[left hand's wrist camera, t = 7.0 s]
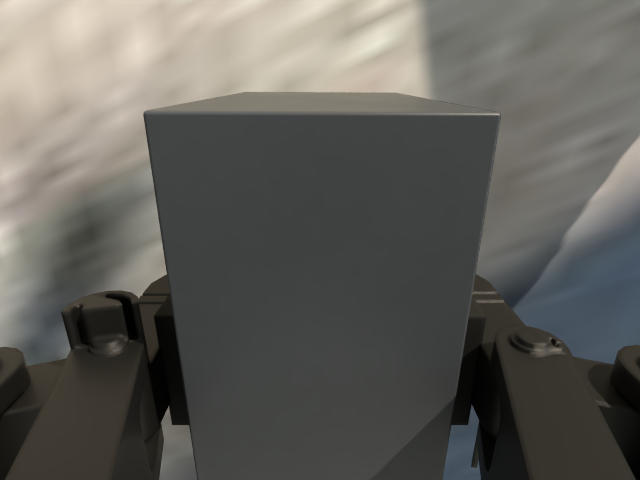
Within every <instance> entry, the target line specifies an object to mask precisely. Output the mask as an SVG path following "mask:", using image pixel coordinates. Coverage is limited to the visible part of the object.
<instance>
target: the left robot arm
mask: <svg viewBox="0 0 640 480" xmlns="http://www.w3.org/2000/svg"><path fill="white" fill-rule="evenodd" d="M61 313H62V317H63V321H64V325H65V328H66V332H67V336H68V340H69V343H70V347H71V351H70V353H69V355H68V357H67V358H66V359H62V360H58V361H53V362H48V363H42V364H37V365H32V366H27V364H26V361H25V358H24V355H23V353H22V352H21V351H19V350H18V349H17V348H9V347H0V480H159V475H160V467H161V459H162V451H163V443H164V438H163V431H162V426H161V421H162V419H163V417H164V415H165V412H166V410H167V408H168V406H169V408H170V414H171V420H172V425H189V419H188V412H187V406H186V399H185V392H184V385H183V379H182V372H181V365H180V358H179V352H178V345H177V338H176V331H175V325H174V318H173V311H172V304H171V297H170V291H169V284H168V277H167V275H165V276H163V277H161V278H160V279H158V280H156V281H155V282H153V283H151V284H150V286H149V287H148V288H147V289H146V290H145V292H144V293H143V296H140V298H139V299H138V297H137V296H136V295H134V294H133V293H131V292H126V291H105V292H100V293H95V294H91V295H88V296H86V297H83V298H80V299H78V300H76V301H74V302H73V303H71V304H69V305H68V306H67V307H66V308H65V309H64V310H63V311H62V312H61ZM471 404H472V406H473V408H474V410H475V412H476V414H477V416H478V418H479V426H478V431H477V436H476V442H475V447H474V453H473V458H472V465H471V467H474V468H477V464H478V459H479V466H480V474H481V480H640V345H633V346H625V347H623V348H622V349H620V350H619V351H618V353H617V356H616V359H615V362H614V365H613V364H608V363H602V362H597V361H592V360H587V359H581V358H577V357H573V356H572V354H571V352H570V350H569V349H568V347H567V346H566V345H565V344H564V343H563V341H561V340H560V339H558V338H557V337H555V336H554V335H552V334H550V333H548V332H545V331H543V330H540V329H538V328H533V327H529V326H525V324H524V323H523V322H522V321H521V320H520V318H519V317H518V316H517V315H516V314H515V312H514V311H513V310H512V309H511V308H510V306H509V305H508V304H507V303H505V300H504V299H503V298H502V297H501V296H500V294H498V292H497V291H496V290H495V288H494V287H493V286H492V285H491V284H490V282H488V281H486V280H485V279H483V278H481V277H480V276H478V275H476V274H475V280H474V286H473V292H472V298H471V305H470V311H469V317H468V323H467V330H466V336H465V342H464V348H463V354H462V361H461V367H460V373H459V379H458V386H457V392H456V398H455V404H454V410H453V417H452V423H451V425H468V421H469V416H470V410H471Z"/></svg>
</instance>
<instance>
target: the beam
mask: <svg viewBox="0 0 640 480" xmlns="http://www.w3.org/2000/svg"><path fill="white" fill-rule="evenodd" d="M500 118H501V115H500V113H498V112H494V111H488V110H483V109H478V108H472V107H467V106H462V105H457V104H451V103H446V102H441V101H436V100H430V99H425V98H420V97H415V96H409V95H404V94H399V93H320V92H243V93H238V94H233V95H227V96H222V97H217V98H211V99H206V100H201V101H195V102H190V103H185V104H179V105H174V106H169V107H163V108H158V109H153V110H147V111H145V112H144V122H145V128H146V135H147V142H148V149H149V155H150V162H151V169H152V176H153V182H154V189H155V196H156V203H157V210H158V216H159V223H160V230H161V237H162V243H163V250H164V257H165V264H166V270H167V277H168V284H169V291H170V297H171V304H172V311H173V318H174V325H175V331H176V338H177V345H178V352H179V358H180V365H181V372H182V379H183V385H184V392H185V399H186V406H187V412H188V419H189V426H190V433H191V439H192V446H193V453H194V460H195V467H196V473H197V480H442V479H443V473H444V466H445V460H446V454H447V448H448V442H449V435H450V429H451V423H452V417H453V410H454V404H455V398H456V392H457V386H458V379H459V373H460V367H461V361H462V354H463V348H464V342H465V336H466V330H467V323H468V317H469V311H470V305H471V298H472V292H473V286H474V280H475V274H476V267H477V261H478V255H479V249H480V242H481V236H482V230H483V224H484V218H485V211H486V205H487V199H488V193H489V186H490V180H491V174H492V168H493V162H494V155H495V149H496V143H497V137H498V130H499V124H500Z"/></svg>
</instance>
